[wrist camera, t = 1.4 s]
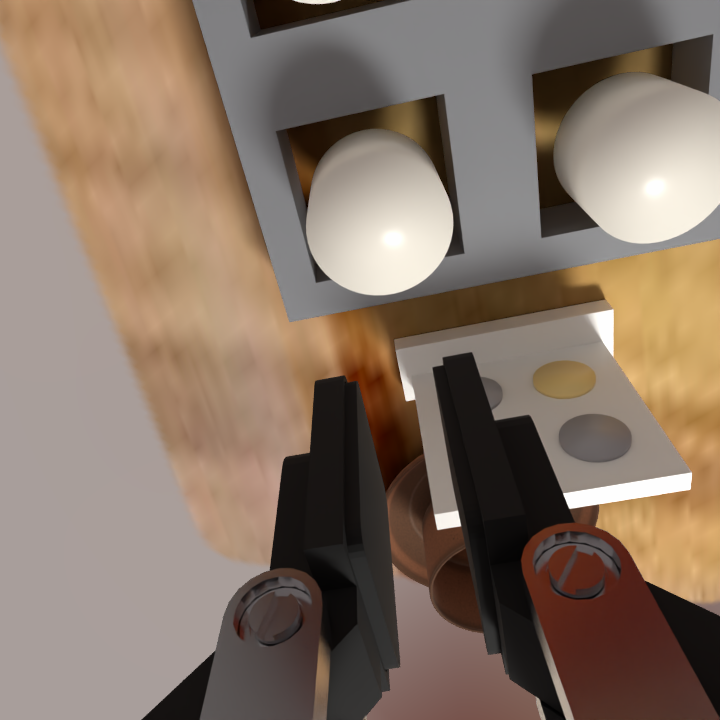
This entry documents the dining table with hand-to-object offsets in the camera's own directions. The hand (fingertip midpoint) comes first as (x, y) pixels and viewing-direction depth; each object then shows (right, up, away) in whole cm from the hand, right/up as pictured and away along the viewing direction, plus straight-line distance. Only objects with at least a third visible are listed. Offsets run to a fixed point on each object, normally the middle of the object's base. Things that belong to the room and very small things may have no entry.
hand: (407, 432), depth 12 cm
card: (+6, +2, +19) cm, 20 cm away
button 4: (0, +7, +12) cm, 14 cm away
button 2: (+8, +9, +11) cm, 17 cm away
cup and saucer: (+6, -6, +25) cm, 26 cm away
